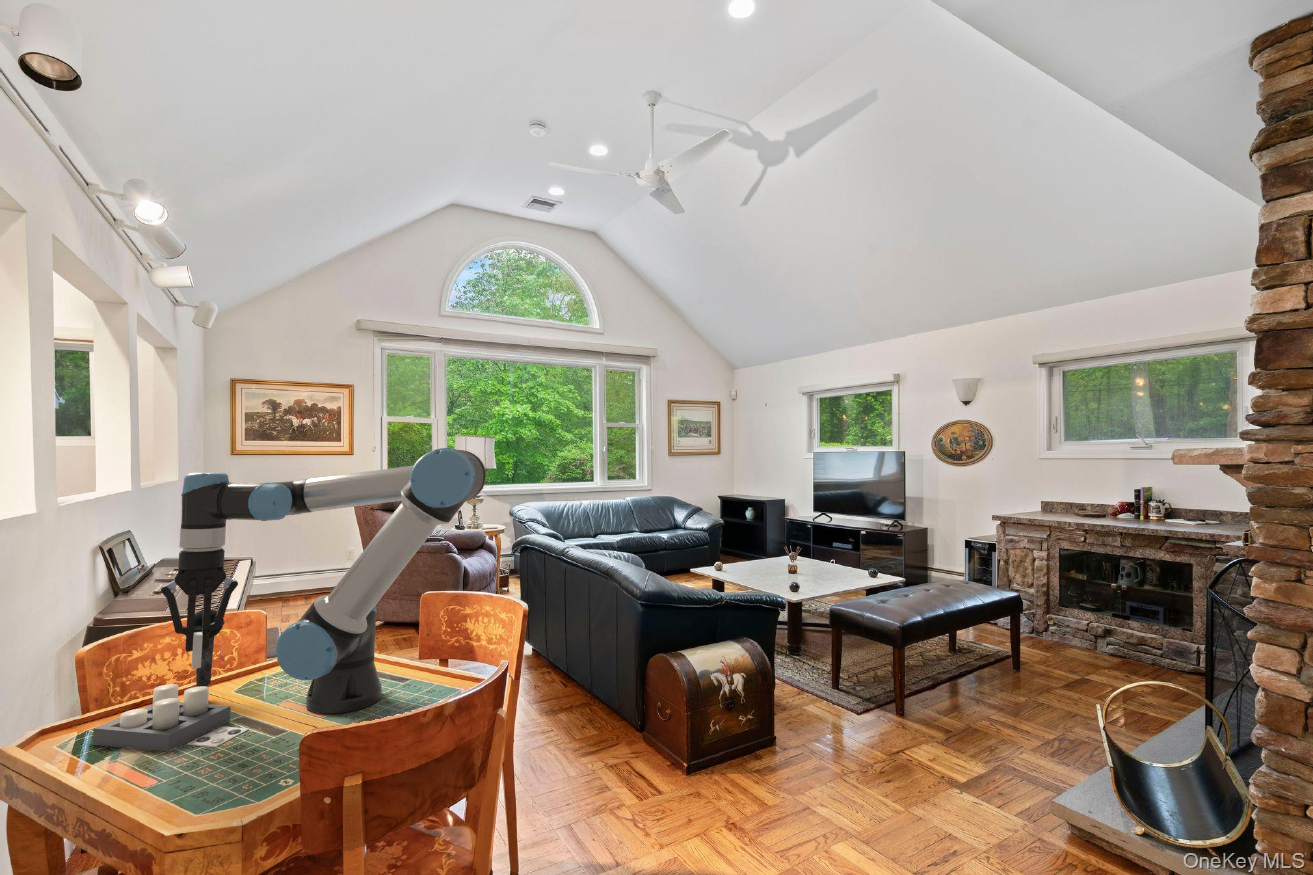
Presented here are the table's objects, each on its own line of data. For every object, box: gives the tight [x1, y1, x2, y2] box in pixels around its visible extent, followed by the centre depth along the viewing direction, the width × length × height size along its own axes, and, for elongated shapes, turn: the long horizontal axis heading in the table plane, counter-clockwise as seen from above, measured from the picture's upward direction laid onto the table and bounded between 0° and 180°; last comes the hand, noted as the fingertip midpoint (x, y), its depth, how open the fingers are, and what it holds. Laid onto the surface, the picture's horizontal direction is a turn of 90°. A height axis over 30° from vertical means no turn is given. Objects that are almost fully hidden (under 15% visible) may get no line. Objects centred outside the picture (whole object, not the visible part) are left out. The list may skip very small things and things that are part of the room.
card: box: [186, 725, 250, 748], centre depth 122 cm, size 6×8×1 cm
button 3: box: [152, 697, 181, 730], centre depth 120 cm, size 4×4×4 cm
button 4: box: [183, 686, 210, 717], centre depth 126 cm, size 4×4×4 cm
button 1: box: [119, 708, 147, 728], centre depth 121 cm, size 4×4×4 cm
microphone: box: [194, 608, 225, 687], centre depth 141 cm, size 7×7×20 cm
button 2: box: [152, 683, 179, 713], centre depth 127 cm, size 4×4×4 cm
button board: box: [92, 701, 232, 752], centre depth 123 cm, size 16×14×3 cm
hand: (196, 666), depth 127 cm, fingers closed
